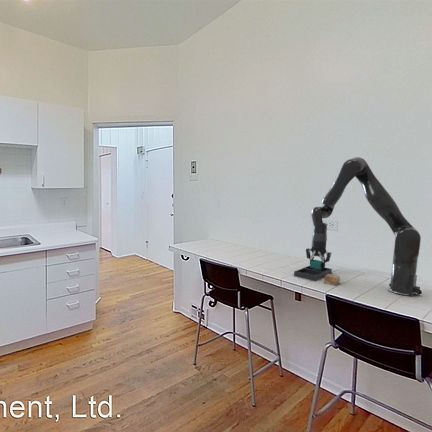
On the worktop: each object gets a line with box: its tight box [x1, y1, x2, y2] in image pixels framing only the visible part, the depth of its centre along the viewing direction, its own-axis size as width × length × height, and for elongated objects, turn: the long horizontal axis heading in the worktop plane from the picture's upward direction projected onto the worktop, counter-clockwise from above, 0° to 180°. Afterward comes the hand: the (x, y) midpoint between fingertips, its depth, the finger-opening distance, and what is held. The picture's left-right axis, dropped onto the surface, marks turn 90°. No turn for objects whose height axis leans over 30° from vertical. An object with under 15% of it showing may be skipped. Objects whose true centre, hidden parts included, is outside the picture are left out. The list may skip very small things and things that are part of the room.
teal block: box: [309, 259, 322, 270], centre depth 182 cm, size 6×6×4 cm
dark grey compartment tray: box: [293, 265, 333, 282], centre depth 179 cm, size 12×22×3 cm, turn 127°
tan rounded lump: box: [323, 273, 341, 286], centre depth 165 cm, size 6×6×4 cm
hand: (317, 266), depth 182 cm, fingers closed on teal block, 5 cm apart
